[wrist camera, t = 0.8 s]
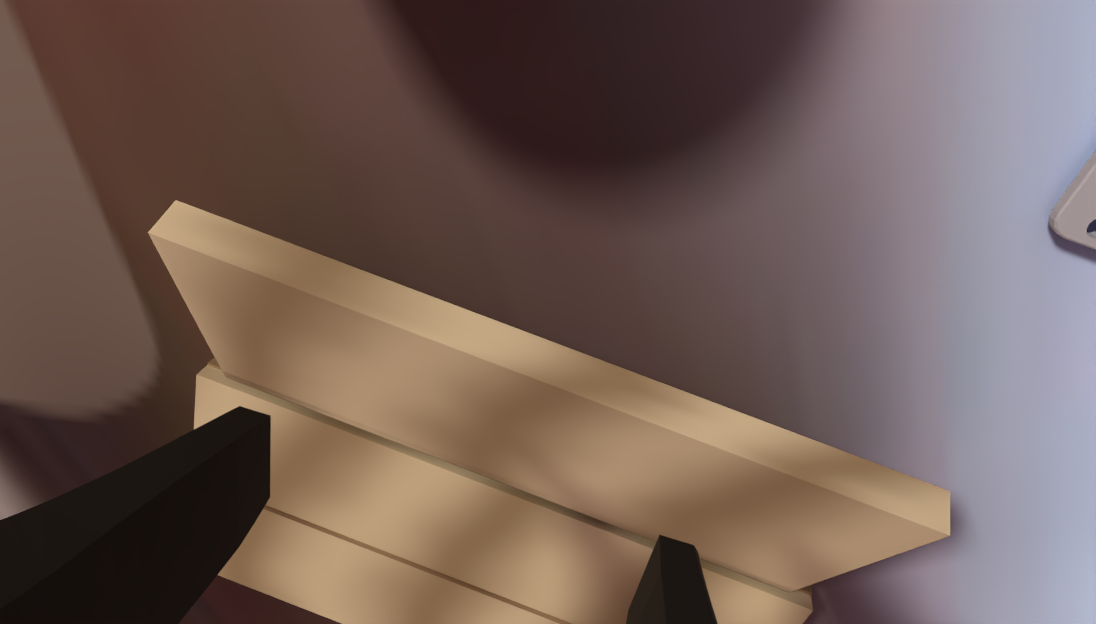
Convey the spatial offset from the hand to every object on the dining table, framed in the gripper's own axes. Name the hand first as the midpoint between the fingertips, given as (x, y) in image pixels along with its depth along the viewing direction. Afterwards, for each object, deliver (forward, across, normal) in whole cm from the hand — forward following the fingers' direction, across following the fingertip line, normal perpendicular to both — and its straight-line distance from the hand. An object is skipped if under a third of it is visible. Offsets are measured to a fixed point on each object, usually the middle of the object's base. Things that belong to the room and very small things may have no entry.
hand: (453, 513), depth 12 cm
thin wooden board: (+9, 0, +12) cm, 15 cm away
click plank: (+7, 0, +3) cm, 8 cm away
